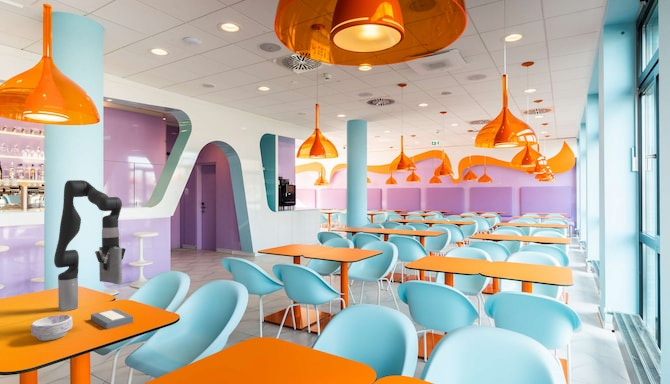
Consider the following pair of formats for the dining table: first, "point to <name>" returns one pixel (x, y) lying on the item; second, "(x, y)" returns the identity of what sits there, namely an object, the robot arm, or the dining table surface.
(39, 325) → the paper bowls
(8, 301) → the dining table surface
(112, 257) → the hip flask
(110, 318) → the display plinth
